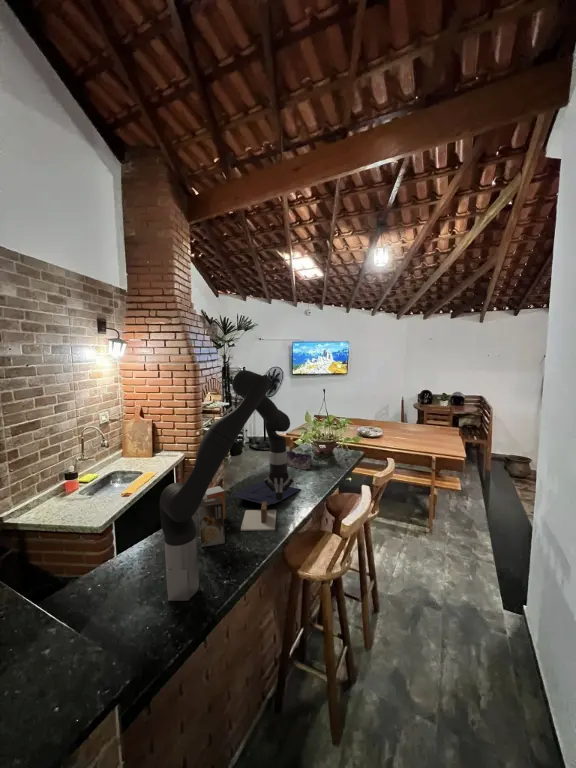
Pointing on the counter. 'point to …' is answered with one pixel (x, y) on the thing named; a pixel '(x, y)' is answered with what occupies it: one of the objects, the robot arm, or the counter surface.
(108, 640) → the counter surface
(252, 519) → the mat
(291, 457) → the geode
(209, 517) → the coffee box
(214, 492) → the small box
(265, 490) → the navy rectangular panel
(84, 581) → the counter surface
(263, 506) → the slab
